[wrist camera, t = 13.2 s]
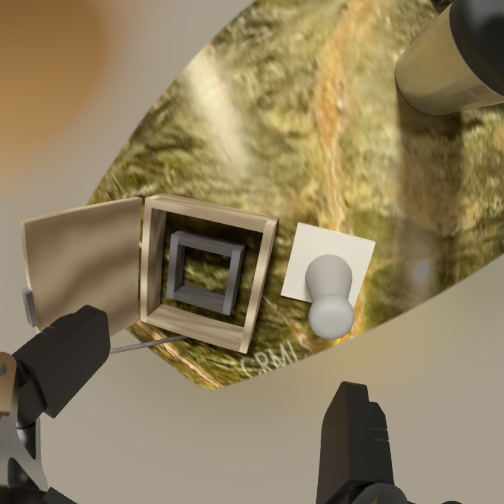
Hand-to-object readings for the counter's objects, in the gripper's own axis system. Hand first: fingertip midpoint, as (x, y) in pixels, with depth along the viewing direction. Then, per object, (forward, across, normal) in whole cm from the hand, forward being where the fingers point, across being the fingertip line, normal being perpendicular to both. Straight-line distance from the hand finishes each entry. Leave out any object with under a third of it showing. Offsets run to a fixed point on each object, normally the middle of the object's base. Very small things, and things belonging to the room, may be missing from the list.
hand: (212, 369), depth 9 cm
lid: (+17, +19, +11) cm, 28 cm away
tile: (+30, -6, +7) cm, 32 cm away
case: (+30, +10, +12) cm, 34 cm away
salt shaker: (+30, -7, +7) cm, 31 cm away
